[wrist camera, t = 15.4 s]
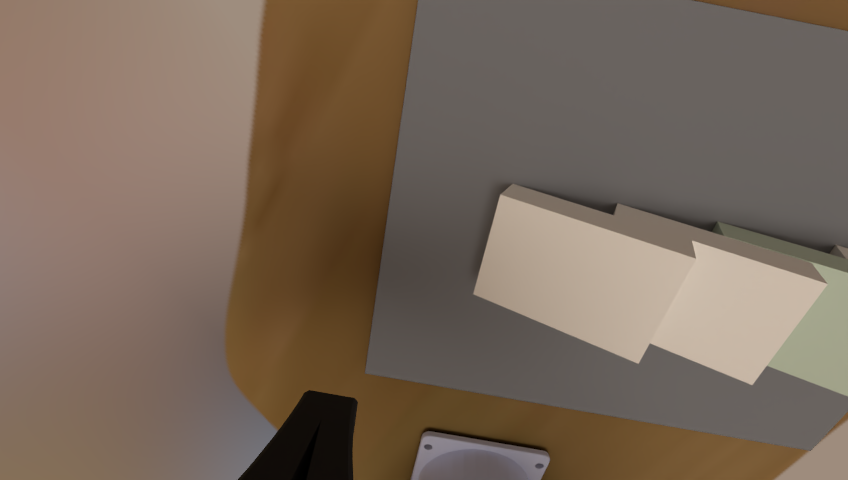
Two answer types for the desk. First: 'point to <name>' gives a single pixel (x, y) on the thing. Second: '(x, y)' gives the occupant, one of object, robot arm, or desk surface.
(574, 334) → the domino
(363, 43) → the desk surface
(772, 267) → the domino
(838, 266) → the sage domino
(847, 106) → the charcoal mat
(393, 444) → the desk surface
